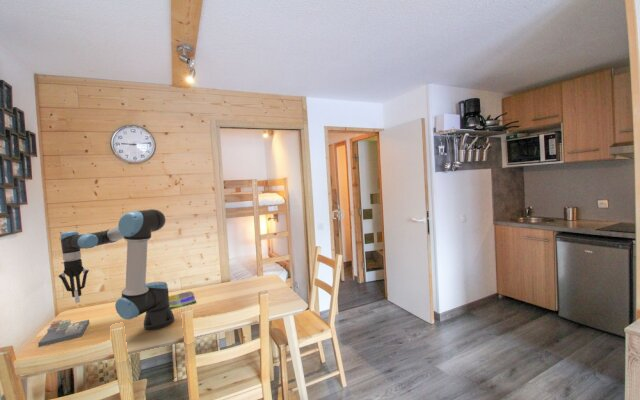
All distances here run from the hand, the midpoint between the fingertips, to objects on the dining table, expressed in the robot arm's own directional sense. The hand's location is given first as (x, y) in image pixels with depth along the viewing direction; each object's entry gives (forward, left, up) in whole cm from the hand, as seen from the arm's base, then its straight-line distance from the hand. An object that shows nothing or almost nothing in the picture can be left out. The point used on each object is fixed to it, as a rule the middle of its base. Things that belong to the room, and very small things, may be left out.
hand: (77, 302), depth 162 cm
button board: (+2, +7, -16) cm, 18 cm away
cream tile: (-4, +2, -14) cm, 14 cm away
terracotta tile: (+8, +12, -14) cm, 20 cm away
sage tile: (+2, +7, -13) cm, 14 cm away
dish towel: (+13, -51, -17) cm, 55 cm away
